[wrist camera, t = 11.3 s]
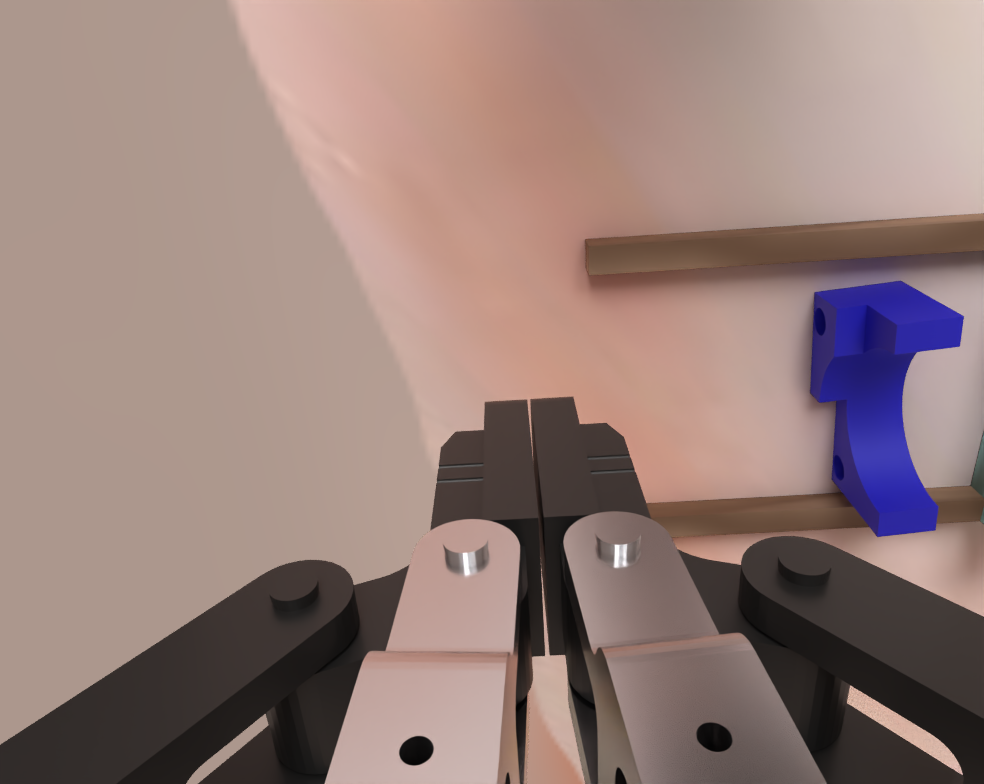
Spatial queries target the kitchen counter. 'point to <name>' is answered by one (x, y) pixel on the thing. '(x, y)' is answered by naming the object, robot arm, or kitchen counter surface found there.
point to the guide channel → (791, 247)
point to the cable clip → (876, 394)
